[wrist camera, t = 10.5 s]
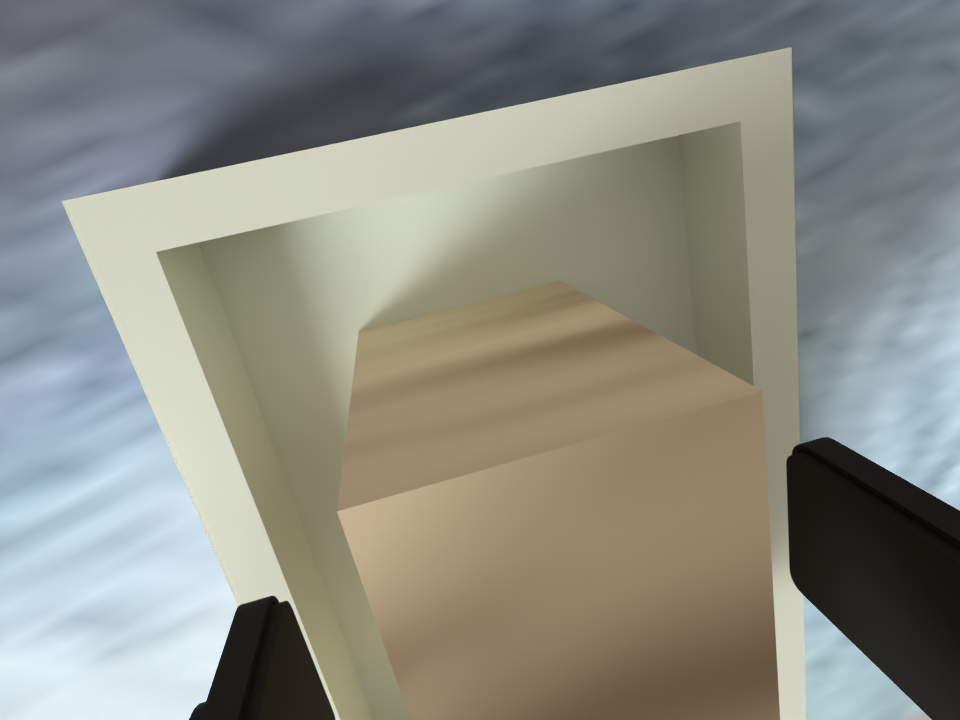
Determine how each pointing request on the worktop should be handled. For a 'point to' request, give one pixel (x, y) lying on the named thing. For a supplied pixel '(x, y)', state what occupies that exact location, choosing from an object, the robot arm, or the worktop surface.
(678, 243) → the tray
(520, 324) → the block
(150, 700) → the worktop surface
